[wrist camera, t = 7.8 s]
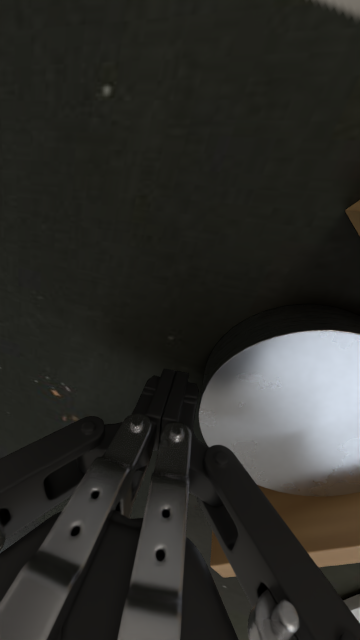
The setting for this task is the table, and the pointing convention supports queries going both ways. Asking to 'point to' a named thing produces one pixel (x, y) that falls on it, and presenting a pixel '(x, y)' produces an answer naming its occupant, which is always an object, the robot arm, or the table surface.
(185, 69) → the table surface
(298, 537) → the corner fence
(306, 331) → the white-topped round disc
